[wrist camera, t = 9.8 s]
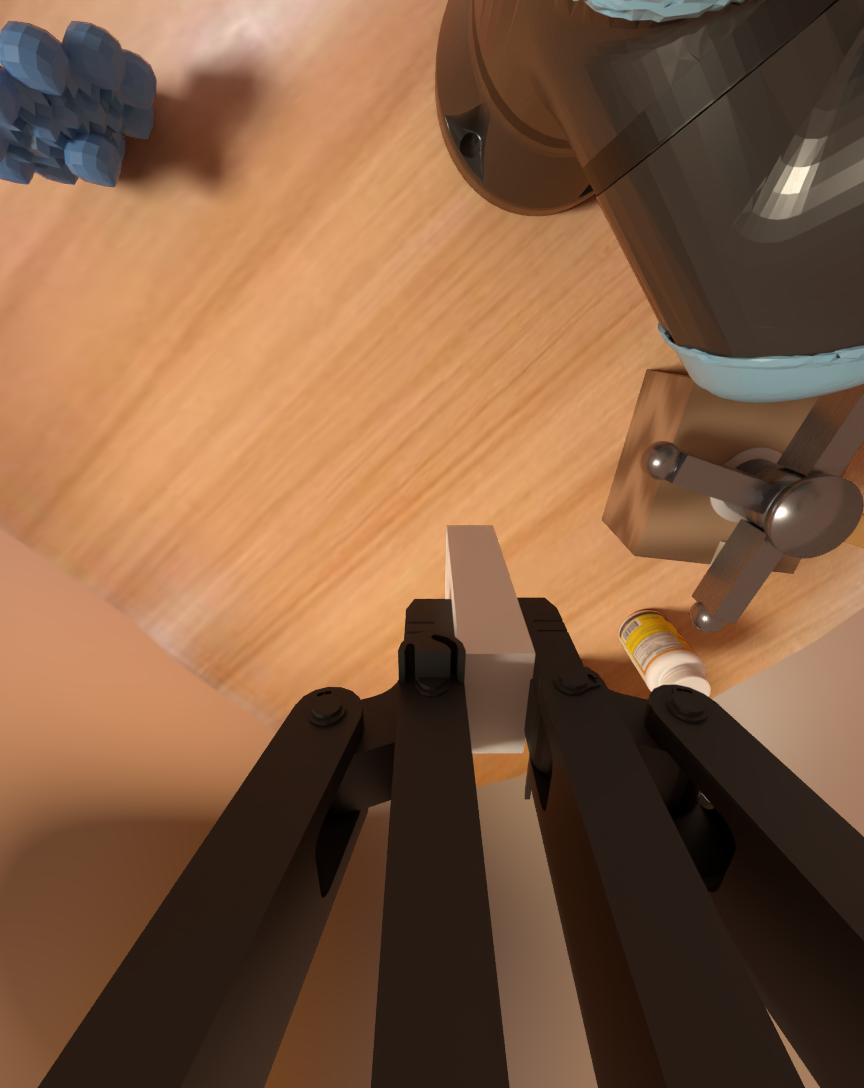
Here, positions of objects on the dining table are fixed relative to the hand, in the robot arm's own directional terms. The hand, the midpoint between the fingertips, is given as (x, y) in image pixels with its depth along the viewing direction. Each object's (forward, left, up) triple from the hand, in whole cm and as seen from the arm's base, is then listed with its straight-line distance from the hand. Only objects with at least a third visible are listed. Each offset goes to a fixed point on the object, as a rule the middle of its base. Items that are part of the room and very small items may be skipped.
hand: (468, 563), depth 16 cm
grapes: (-15, -25, -29) cm, 41 cm away
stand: (+1, +24, -29) cm, 38 cm away
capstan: (+1, +24, -21) cm, 32 cm away
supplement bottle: (+20, +25, -29) cm, 43 cm away
